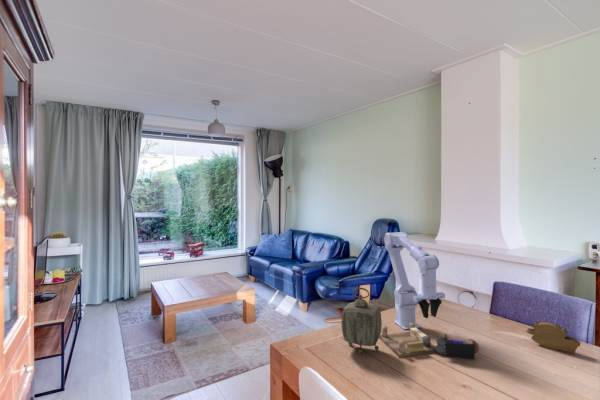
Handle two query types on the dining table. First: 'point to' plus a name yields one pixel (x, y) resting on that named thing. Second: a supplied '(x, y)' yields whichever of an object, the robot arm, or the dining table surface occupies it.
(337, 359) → the dining table surface
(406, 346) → the stool seat
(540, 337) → the wooden carving
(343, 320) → the green bag
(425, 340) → the leg bar
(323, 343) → the dining table surface
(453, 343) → the character figurine
